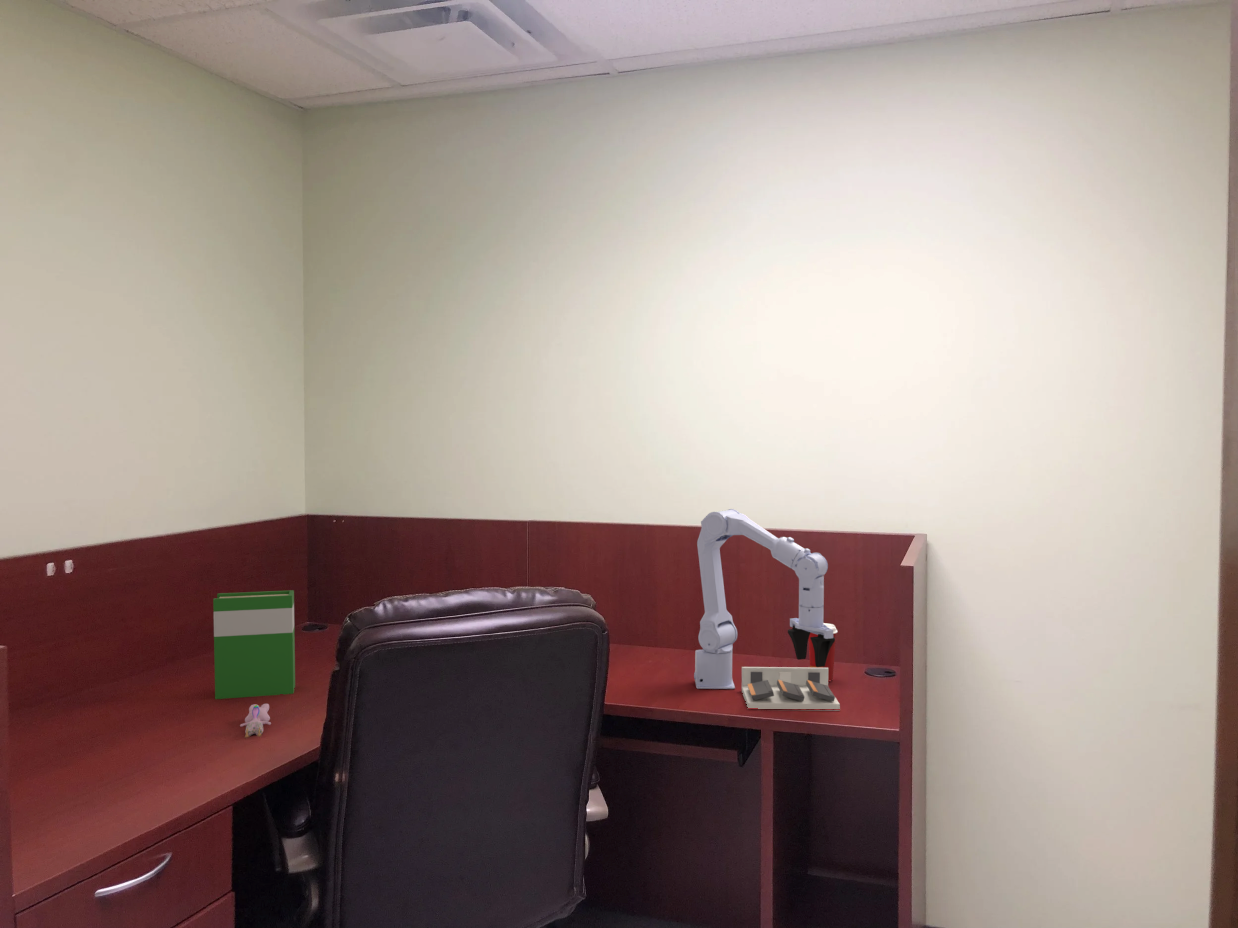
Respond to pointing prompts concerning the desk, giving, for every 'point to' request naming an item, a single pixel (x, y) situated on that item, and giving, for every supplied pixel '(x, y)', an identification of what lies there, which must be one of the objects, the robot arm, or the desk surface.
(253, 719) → the pink and white figure
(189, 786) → the desk surface
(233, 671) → the hardback book
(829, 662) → the paper cup
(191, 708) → the desk surface
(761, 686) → the switch
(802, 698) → the switch
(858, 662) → the desk surface
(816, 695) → the switch
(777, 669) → the switch unit
